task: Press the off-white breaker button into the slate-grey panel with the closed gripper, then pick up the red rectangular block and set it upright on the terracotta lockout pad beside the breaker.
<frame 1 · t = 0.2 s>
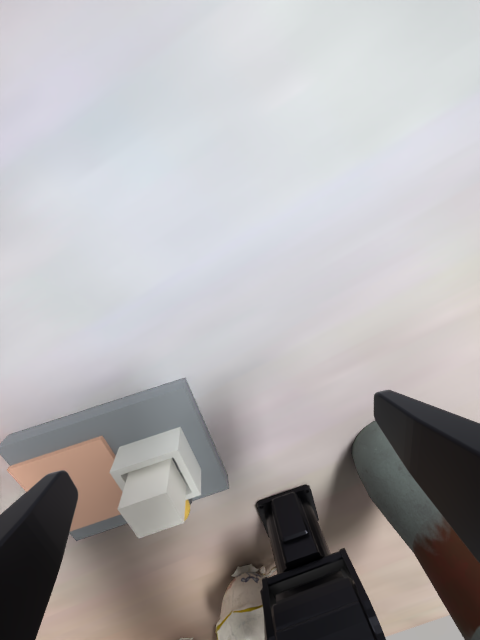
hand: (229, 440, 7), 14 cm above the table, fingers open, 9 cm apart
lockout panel: (129, 457, 24), on the table
chinaware: (233, 609, 37), on the table
breaker: (155, 496, 20), point 5 cm above the table, slide at 0.0 cm
bottle: (382, 442, 29), on the table
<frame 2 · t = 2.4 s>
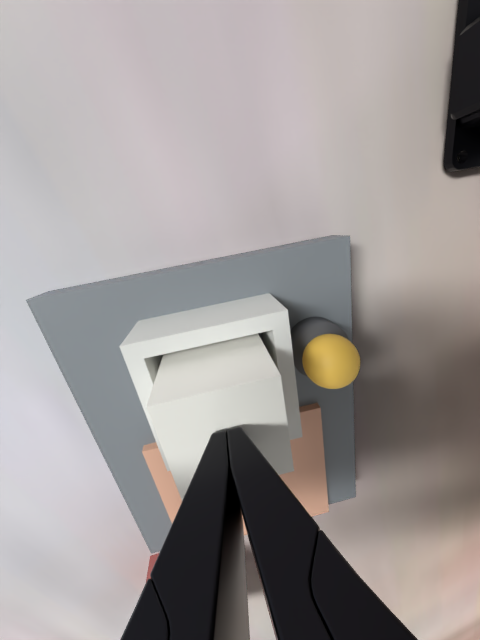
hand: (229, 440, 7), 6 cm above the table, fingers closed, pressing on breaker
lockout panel: (229, 404, 14), on the table
breaker: (223, 408, 9), point 5 cm above the table, slide at 0.4 cm, touching gripper
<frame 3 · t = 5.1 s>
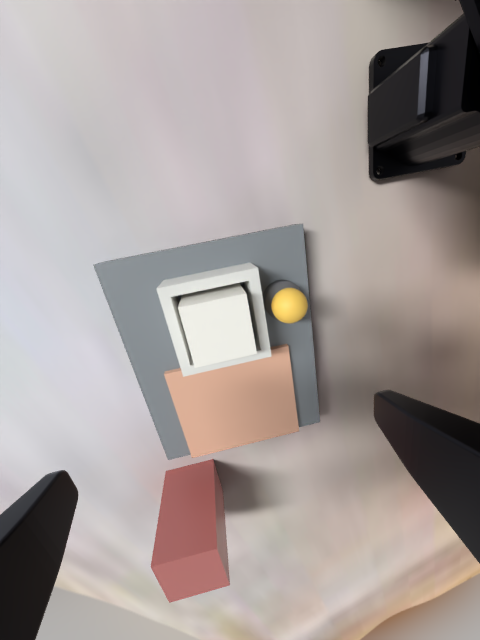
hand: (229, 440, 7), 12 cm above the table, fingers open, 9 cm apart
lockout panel: (225, 348, 20), on the table
red rectangular block: (195, 481, 24), on the table
breaker: (218, 322, 15), point 4 cm above the table, slide at 1.4 cm
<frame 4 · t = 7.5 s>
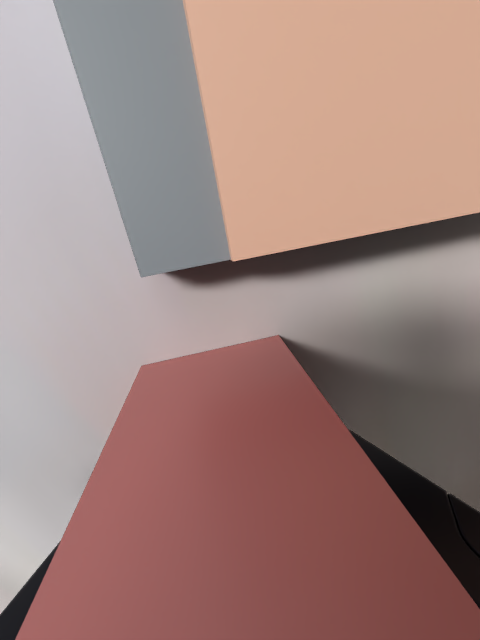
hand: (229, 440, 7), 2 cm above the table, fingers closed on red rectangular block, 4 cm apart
red rectangular block: (225, 406, 9), on the table, touching gripper
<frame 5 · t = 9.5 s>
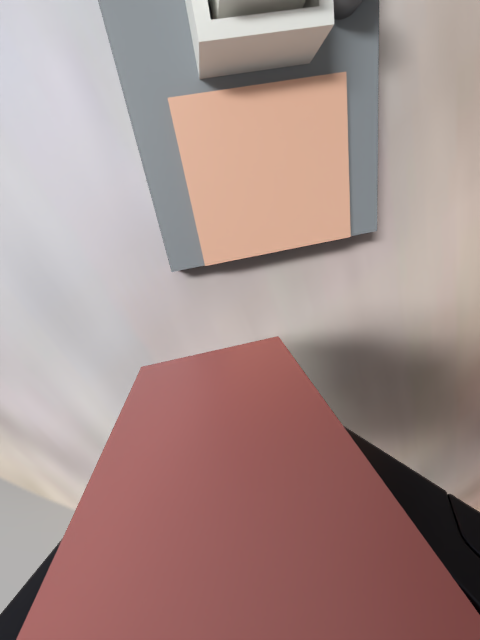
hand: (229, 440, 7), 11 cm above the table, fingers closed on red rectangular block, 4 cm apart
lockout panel: (252, 103, 14), on the table
red rectangular block: (224, 407, 9), point 10 cm above the table, touching gripper
when the fingers open (5 cm above the table, at t = 11.7 s): red rectangular block drops 1 cm, resting on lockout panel.
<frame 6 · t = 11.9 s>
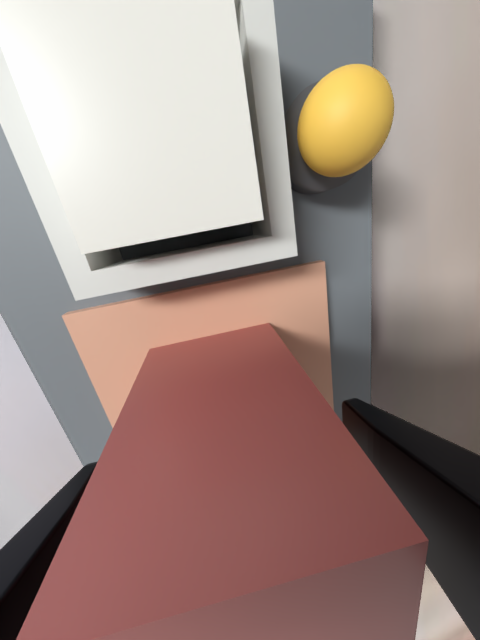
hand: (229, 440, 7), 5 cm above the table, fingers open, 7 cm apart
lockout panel: (198, 277, 10), on the table
red rectangular block: (222, 386, 10), point 2 cm above the table, touching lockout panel
breaker: (160, 153, 6), point 4 cm above the table, slide at 1.4 cm
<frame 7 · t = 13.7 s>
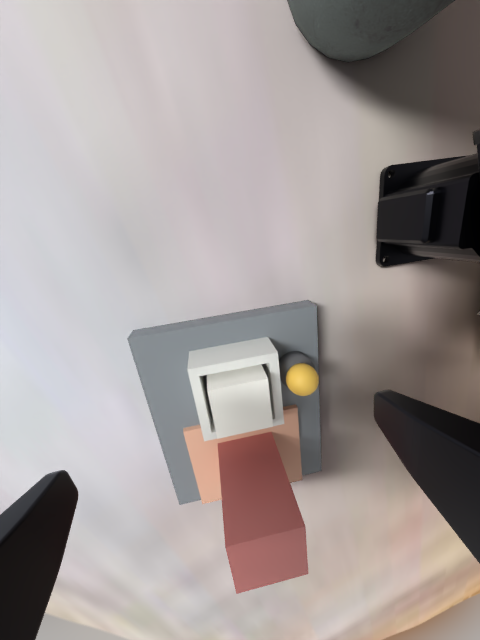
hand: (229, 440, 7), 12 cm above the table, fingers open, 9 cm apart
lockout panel: (238, 403, 21), on the table
red rectangular block: (248, 457, 21), point 2 cm above the table, touching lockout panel
breaker: (238, 394, 17), point 4 cm above the table, slide at 1.4 cm
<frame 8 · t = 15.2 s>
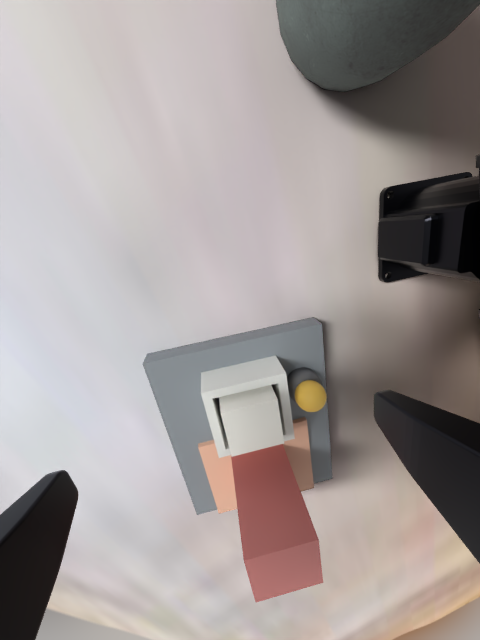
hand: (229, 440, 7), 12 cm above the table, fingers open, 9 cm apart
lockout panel: (249, 417, 22), on the table
red rectangular block: (260, 469, 22), point 2 cm above the table, touching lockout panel
breaker: (249, 413, 17), point 4 cm above the table, slide at 1.4 cm
bottle: (345, 5, 14), on the table
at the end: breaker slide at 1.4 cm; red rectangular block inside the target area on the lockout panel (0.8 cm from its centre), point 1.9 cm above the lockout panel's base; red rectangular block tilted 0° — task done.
